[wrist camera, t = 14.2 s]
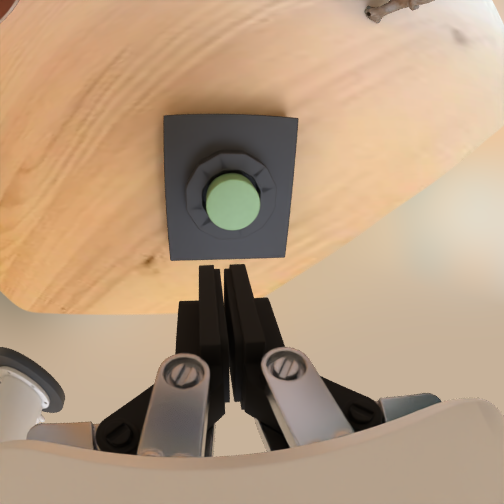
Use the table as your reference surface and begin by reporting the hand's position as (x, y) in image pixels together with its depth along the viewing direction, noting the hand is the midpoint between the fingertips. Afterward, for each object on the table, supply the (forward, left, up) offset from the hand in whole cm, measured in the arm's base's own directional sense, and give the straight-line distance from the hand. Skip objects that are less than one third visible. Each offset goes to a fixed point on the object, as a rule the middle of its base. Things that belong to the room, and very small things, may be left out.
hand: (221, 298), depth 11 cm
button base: (+1, -1, -16) cm, 16 cm away
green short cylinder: (+1, -1, -11) cm, 11 cm away
